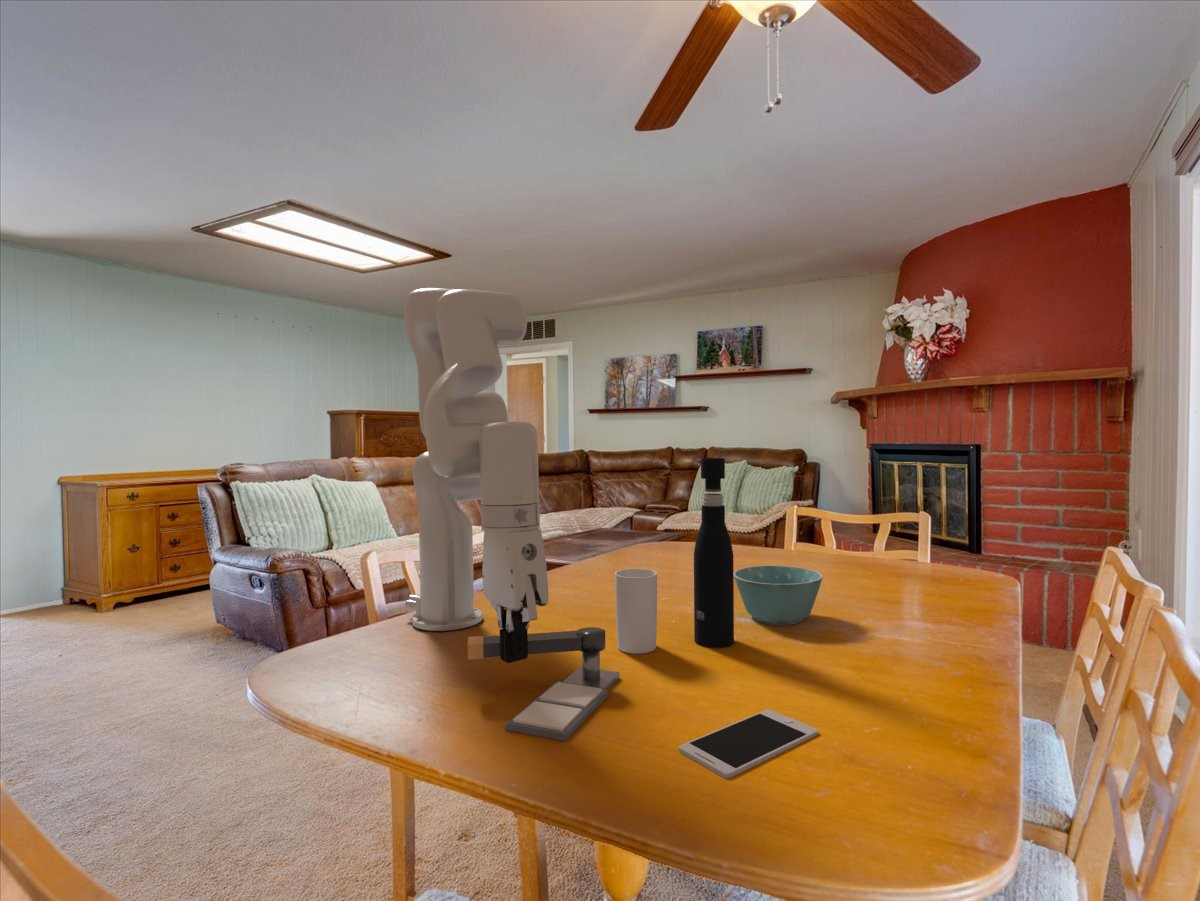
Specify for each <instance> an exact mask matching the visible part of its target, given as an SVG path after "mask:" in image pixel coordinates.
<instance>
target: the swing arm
mask: <svg viewBox="0 0 1200 901" xmlns="http://www.w3.org/2000/svg"><path fill="white" fill-rule="evenodd" d="M527 635H528V655H536V654H540V655H541V654H550V653H551V654H553V653H566V652H581V653H582V652H587V653H593V652H600V653H601V652H603V651H604V650H605V649H606V630H605V629H604V628H601V627H594V626H591V627H590V626H589V627H587V626H586V627H582V628H579V629H577V630H568V631H567V630H566V631H553V632H552V631H550V632H549V631H548V632H535V633H534V632H533V633H527ZM495 657H500V635H490V636H484V635H477V636H476V635H475V636H468V637H467V661H468V660H469V661H470V660H483V659H484V658H495Z"/></svg>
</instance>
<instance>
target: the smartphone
mask: <svg viewBox="0 0 1200 901" xmlns="http://www.w3.org/2000/svg"><path fill="white" fill-rule="evenodd" d="M818 734H819V729H818V728H815V727H813V726H810V725H808V724H806V723H804V722H801V721H799V720H797V719H794V718H791V717H790V716H787V715H784V714H783V713H780V712H778V711H775V710H773V709H765V710H763V711H760V712H757V713H755V714H753V715H750V716H747V717H746V718H743V719H741V720H738V721H735V722H733V723H731V724H729V725H726V726H723V727H721V728H719V729H717V730H715V731H712V732H710V733H707V734H704V735H702V736H699V737H698V738H695V739H692V740H690V741H687V742H685V743H682V744H681V745H679V746H678V753H680V754H682V755H683V756H686V757H687V758H688V759H691V760H693V762H695V763H698V764H699V765H701V766H703V767H705V768H706V769H708V770H710V771H712V772H714V773H715V774H717V775H719V776H720V777H722V778H724V779H730V778H733V777H735V776H737V775H739V774H741V773H742V772H745V771H747V770H749V769H751V768H753V767H755V766H757V765H759V764H762V763H763V762H765V761H766V760H769V759H771V758H773V757H775V756H777V755H779V754H782V753H784V752H785V751H787V750H789V749H791V748H793V747H796V746H797V745H800V744H802V743H803V742H806V741H808V740H809V739H811V738H814V737H816V736H817V735H818Z"/></svg>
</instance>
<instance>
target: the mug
mask: <svg viewBox="0 0 1200 901" xmlns="http://www.w3.org/2000/svg"><path fill="white" fill-rule="evenodd" d="M614 587H615V588H614V590H615V591H614V593H615V614H616V615H615V616H616V619H615V620H616V642H617V649H618V650H619V651H621V652H623V653H626V654H632V655H642V654H648V653H651V652H653V651H655V650H656V648H657V635H658V634H657V632H658V630H657V629H658V628H657V626H658V624H657V623H658V621H657V620H658V573H657V571H656V570H653V569H647V568H634V567H633V568H623V569H620V570H617V571H615V572H614Z"/></svg>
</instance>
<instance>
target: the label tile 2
mask: <svg viewBox="0 0 1200 901" xmlns="http://www.w3.org/2000/svg"><path fill="white" fill-rule="evenodd" d="M562 682H563V681H562ZM562 682H561V681H555V682H554V683H553V684H552V685H550V686H549V687H548V688H547V689H546V690H543V692H542V693H541V694H539V695H538V696H537V697H536V698H535V699H533V700H532V701H538V702H544V703H550V704H556V705H561V706H567V707H573V708H579V709H584V710H588V711H589V712H588V713H589V714H588V715H589V716H588V718H589V717H590V716H591V715H592V714H593V713H594V712H595V711H596V710H597V708H599V707H600V706H601V704H602V703H604V701H605V700H607V698H608V697H609V689H608V690H606V689H601V688H595V687H588V686H582V685H575V684H569V683H562Z"/></svg>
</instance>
